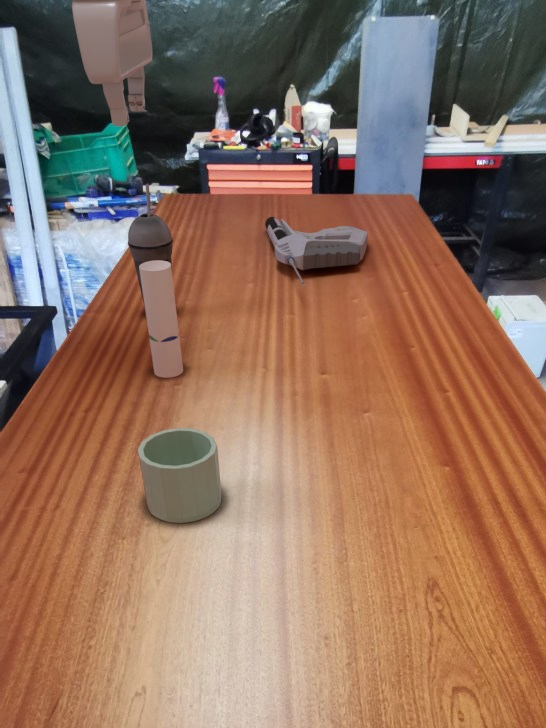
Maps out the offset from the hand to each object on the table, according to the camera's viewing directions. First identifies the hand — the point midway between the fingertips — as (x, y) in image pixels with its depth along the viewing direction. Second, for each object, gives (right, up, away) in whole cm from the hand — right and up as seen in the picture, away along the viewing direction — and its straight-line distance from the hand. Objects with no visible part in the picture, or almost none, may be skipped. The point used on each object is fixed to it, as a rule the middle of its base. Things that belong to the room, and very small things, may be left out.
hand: (129, 117), depth 92 cm
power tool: (+28, +6, +52) cm, 60 cm away
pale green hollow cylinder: (+8, -49, -8) cm, 50 cm away
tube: (+2, -26, +18) cm, 32 cm away
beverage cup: (-2, -11, +35) cm, 37 cm away
